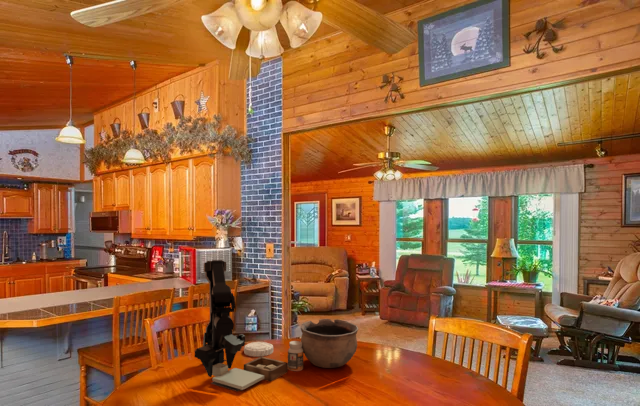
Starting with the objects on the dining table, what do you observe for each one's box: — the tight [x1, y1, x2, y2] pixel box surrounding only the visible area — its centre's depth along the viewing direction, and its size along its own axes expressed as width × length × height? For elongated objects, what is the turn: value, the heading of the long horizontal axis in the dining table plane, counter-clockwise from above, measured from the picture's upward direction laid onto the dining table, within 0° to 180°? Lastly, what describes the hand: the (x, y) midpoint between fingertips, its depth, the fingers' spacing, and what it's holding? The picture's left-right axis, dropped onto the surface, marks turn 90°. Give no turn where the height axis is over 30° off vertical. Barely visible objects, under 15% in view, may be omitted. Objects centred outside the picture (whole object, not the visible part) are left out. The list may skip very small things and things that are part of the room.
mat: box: [210, 381, 241, 392], centre depth 141 cm, size 12×10×1 cm
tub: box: [243, 356, 289, 383], centre depth 150 cm, size 12×10×4 cm
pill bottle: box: [287, 340, 304, 372], centre depth 155 cm, size 6×6×10 cm
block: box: [265, 365, 277, 370], centre depth 150 cm, size 3×3×2 cm
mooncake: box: [243, 341, 274, 358], centre depth 173 cm, size 12×12×4 cm
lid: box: [212, 363, 264, 391], centre depth 141 cm, size 17×11×4 cm, turn 59°
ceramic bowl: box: [299, 318, 359, 369], centre depth 161 cm, size 22×22×15 cm
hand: (220, 372), depth 145 cm, fingers open, 9 cm apart
